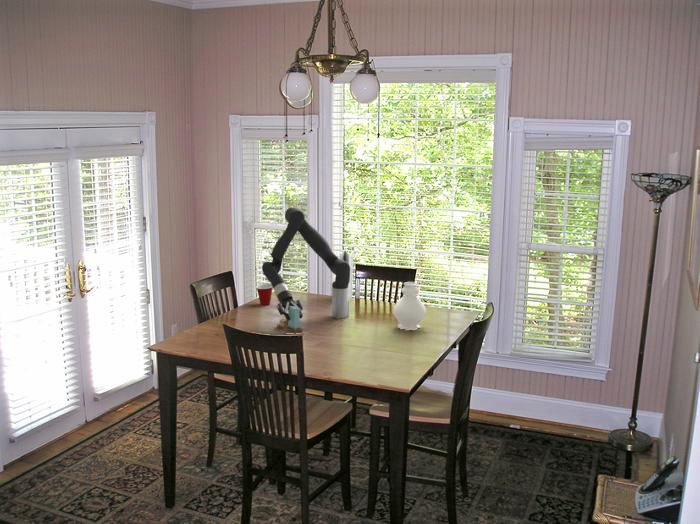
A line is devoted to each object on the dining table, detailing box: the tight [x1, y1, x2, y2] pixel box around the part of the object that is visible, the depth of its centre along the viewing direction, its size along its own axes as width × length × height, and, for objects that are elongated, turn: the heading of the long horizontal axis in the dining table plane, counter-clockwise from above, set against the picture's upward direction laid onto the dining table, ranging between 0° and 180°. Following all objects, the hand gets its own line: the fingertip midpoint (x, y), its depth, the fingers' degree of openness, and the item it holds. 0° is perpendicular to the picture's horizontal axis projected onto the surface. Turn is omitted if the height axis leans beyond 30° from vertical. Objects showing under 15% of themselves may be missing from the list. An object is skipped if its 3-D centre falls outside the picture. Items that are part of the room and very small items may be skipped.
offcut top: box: [279, 318, 288, 325], centre depth 388 cm, size 5×4×2 cm
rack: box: [272, 324, 315, 336], centre depth 384 cm, size 14×21×3 cm, turn 40°
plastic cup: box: [255, 283, 274, 307], centre depth 437 cm, size 11×11×12 cm
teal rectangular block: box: [287, 306, 301, 329], centre depth 382 cm, size 3×6×13 cm, turn 40°
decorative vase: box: [393, 281, 427, 331], centre depth 395 cm, size 18×18×25 cm
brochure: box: [339, 249, 354, 301], centre depth 455 cm, size 14×6×30 cm, turn 168°
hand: (295, 318), depth 380 cm, fingers open, 7 cm apart
